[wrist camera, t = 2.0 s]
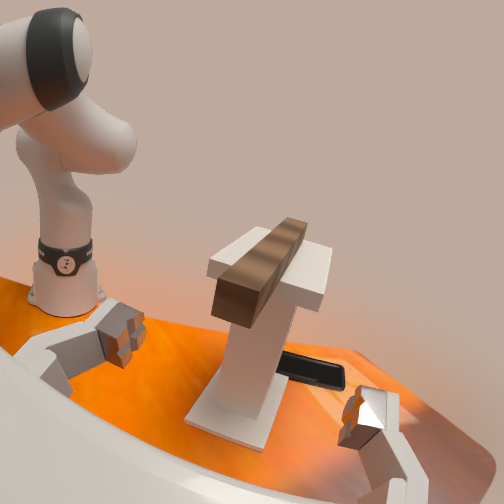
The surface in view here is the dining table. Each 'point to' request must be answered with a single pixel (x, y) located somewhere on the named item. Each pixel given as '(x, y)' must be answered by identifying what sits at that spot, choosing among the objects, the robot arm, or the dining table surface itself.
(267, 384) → the pedestal
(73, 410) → the robot arm
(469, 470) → the dining table surface
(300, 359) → the phone
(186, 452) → the dining table surface
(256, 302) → the walnut bar
